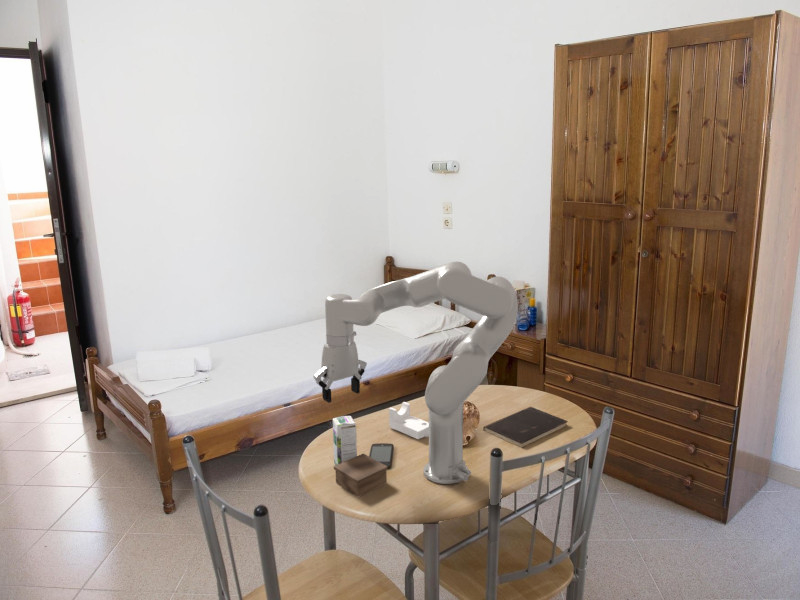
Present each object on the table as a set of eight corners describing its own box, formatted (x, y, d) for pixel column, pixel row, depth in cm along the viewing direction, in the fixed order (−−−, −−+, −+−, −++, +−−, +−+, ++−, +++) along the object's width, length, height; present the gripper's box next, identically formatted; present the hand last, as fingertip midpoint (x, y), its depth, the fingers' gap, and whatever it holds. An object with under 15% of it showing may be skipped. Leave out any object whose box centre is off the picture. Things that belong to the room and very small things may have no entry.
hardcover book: (567, 427, 207) (567, 420, 206) (521, 449, 193) (521, 442, 192) (529, 412, 219) (529, 405, 218) (483, 432, 205) (483, 425, 204)
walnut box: (388, 483, 175) (387, 466, 174) (358, 498, 168) (357, 481, 167) (364, 469, 183) (363, 453, 181) (334, 483, 176) (333, 466, 174)
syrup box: (333, 463, 186) (331, 418, 182) (352, 459, 188) (350, 414, 184) (338, 472, 181) (336, 426, 177) (358, 468, 183) (356, 422, 179)
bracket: (389, 429, 207) (388, 408, 205) (404, 422, 212) (404, 401, 210) (418, 442, 198) (418, 420, 197) (433, 434, 203) (433, 412, 201)
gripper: (357, 329, 182) (358, 385, 187) (305, 342, 172) (308, 400, 176) (373, 335, 177) (373, 392, 181) (321, 349, 166) (323, 409, 170)
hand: (341, 396), depth 179 cm, fingers open, 9 cm apart
